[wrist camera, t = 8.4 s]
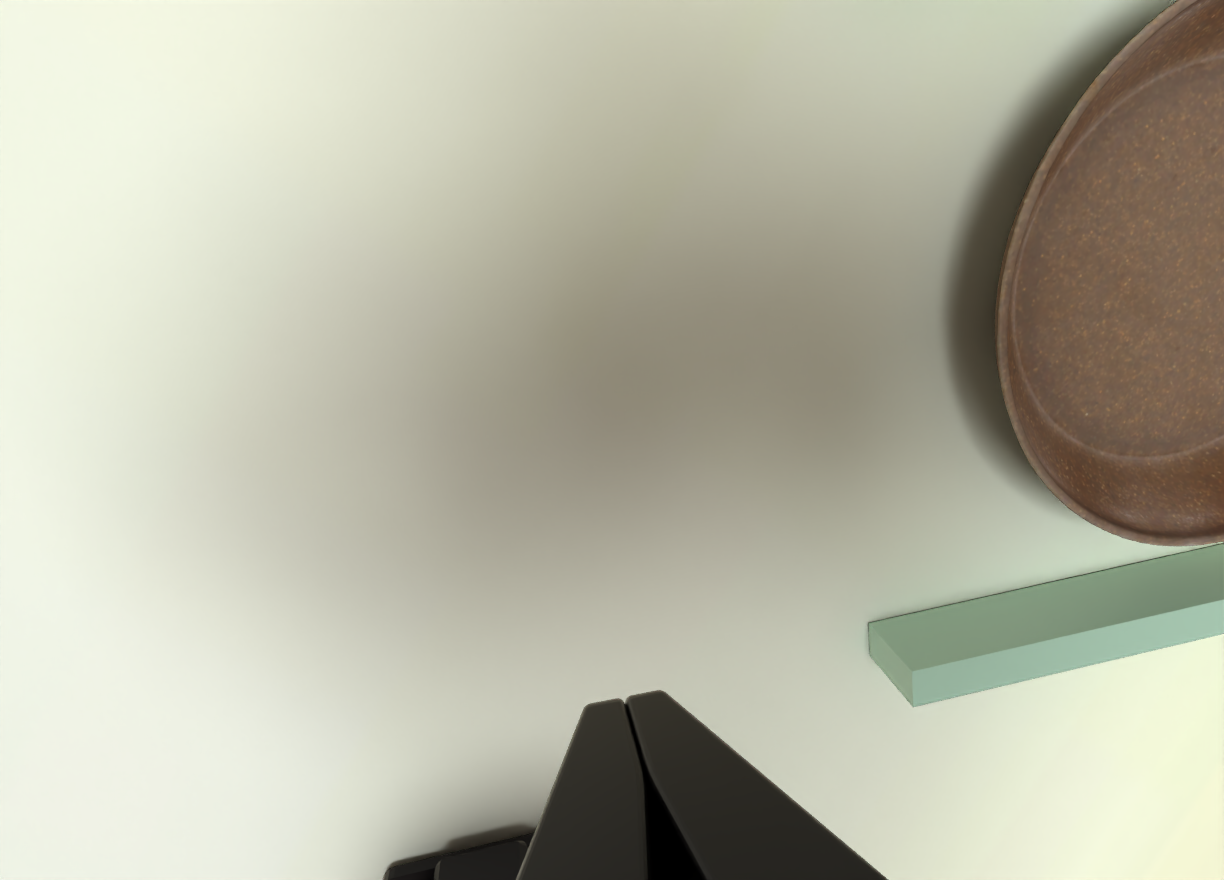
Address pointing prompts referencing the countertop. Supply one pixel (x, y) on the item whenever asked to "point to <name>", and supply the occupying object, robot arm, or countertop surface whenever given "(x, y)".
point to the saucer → (1127, 292)
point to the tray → (1052, 627)
